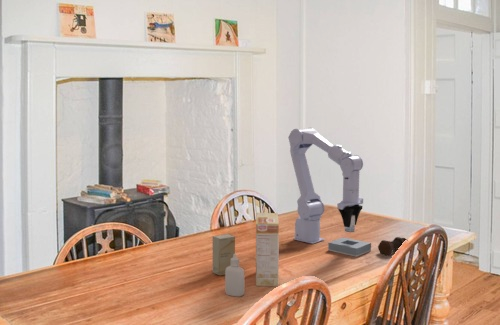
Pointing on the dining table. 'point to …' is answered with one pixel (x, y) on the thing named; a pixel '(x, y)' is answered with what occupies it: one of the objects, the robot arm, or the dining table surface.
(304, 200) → the robot arm
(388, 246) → the bolt
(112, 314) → the dining table surface
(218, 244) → the skincare box
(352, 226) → the pin
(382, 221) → the dining table surface
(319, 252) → the dining table surface
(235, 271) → the eye dropper bottle
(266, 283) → the coffeecake box
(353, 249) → the hole block
